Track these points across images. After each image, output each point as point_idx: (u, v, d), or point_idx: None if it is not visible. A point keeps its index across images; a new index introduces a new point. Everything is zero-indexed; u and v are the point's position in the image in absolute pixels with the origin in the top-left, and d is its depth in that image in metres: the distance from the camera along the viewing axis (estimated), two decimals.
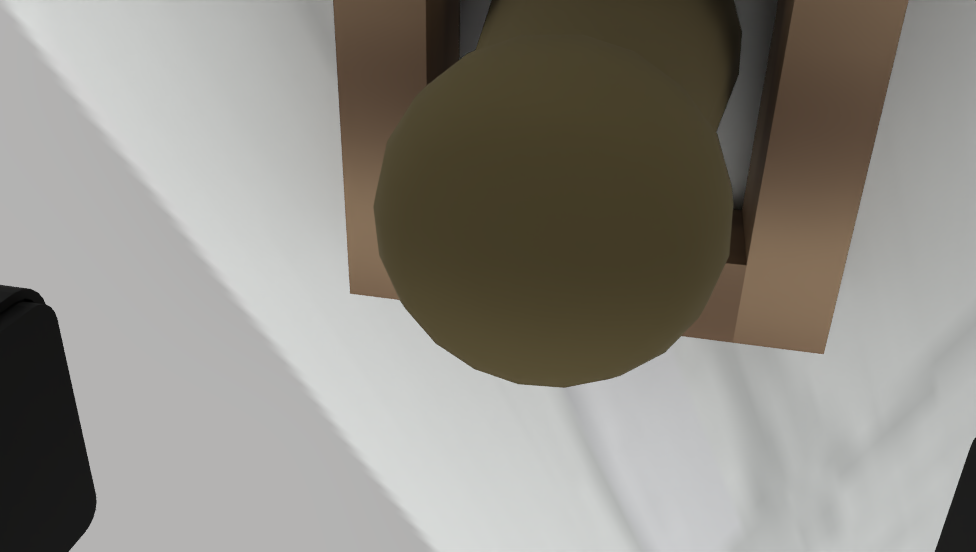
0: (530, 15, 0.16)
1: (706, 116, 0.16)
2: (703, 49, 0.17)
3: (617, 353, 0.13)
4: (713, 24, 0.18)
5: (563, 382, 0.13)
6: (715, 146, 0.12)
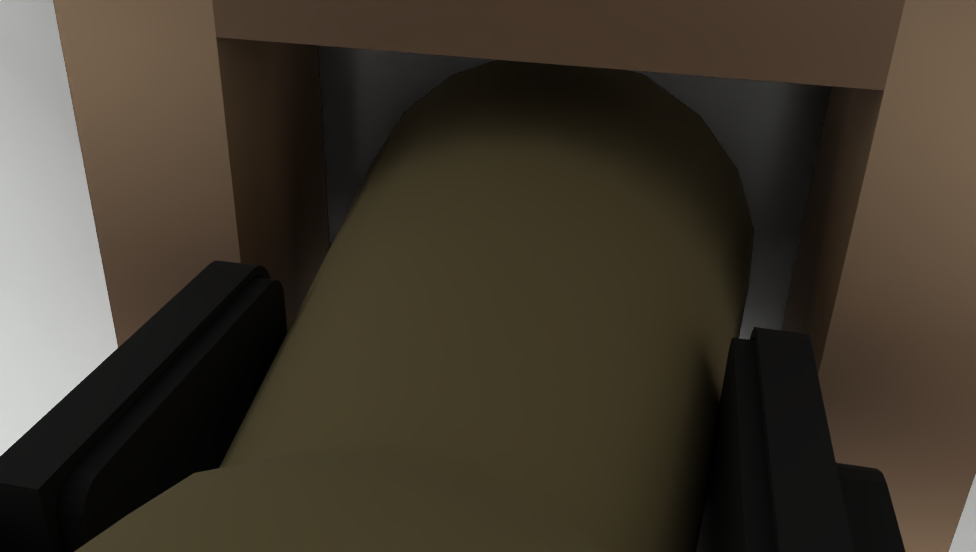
0: (363, 295, 0.08)
1: (696, 490, 0.08)
2: (691, 334, 0.09)
3: None
4: (709, 259, 0.10)
5: None
6: None
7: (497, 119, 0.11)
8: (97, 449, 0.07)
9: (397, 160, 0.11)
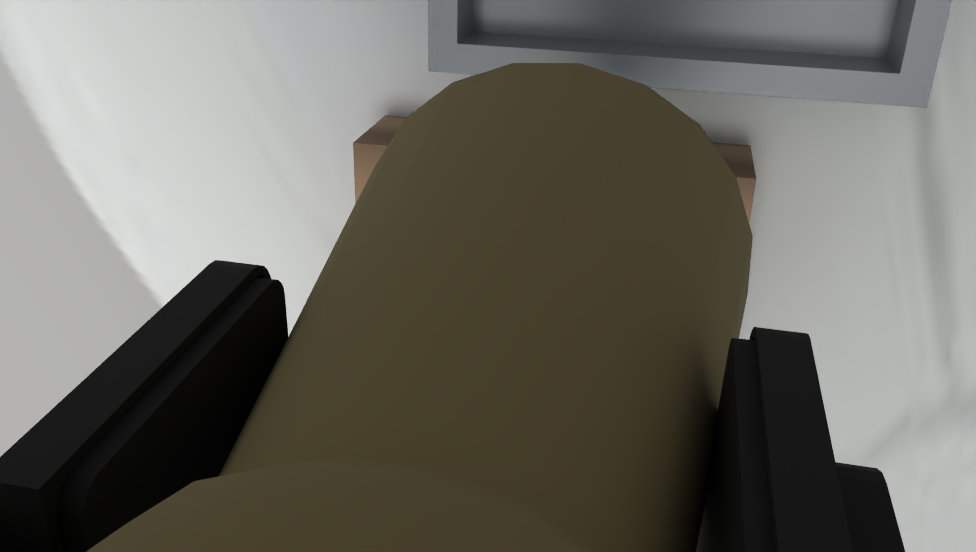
0: (363, 303, 0.08)
1: (694, 498, 0.08)
2: (690, 342, 0.09)
3: None
4: (708, 267, 0.11)
5: None
6: None
7: (497, 127, 0.11)
8: (97, 449, 0.07)
9: (397, 168, 0.11)
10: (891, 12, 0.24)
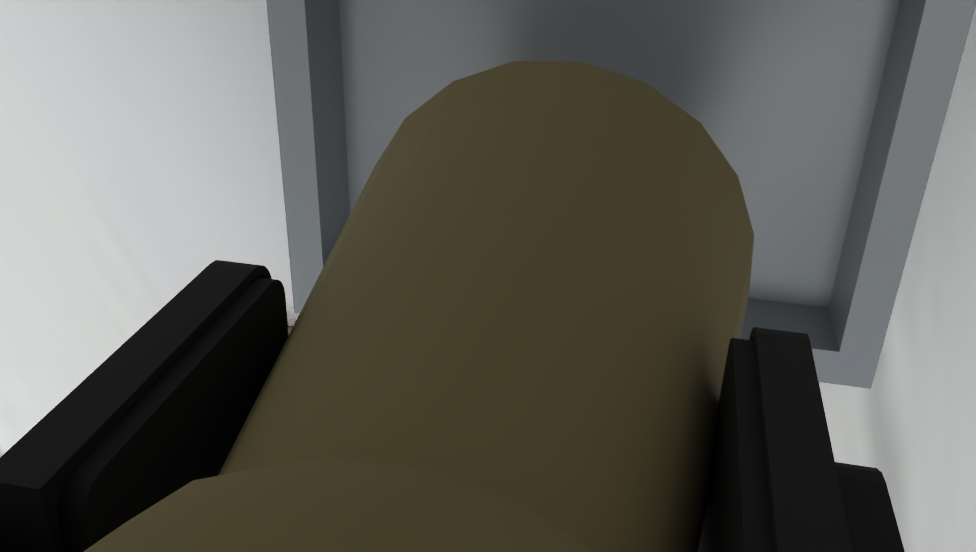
0: (363, 302, 0.08)
1: (696, 498, 0.08)
2: (691, 341, 0.09)
3: None
4: (709, 266, 0.10)
5: None
6: None
7: (498, 125, 0.11)
8: (98, 449, 0.07)
9: (397, 166, 0.11)
10: (834, 261, 0.20)
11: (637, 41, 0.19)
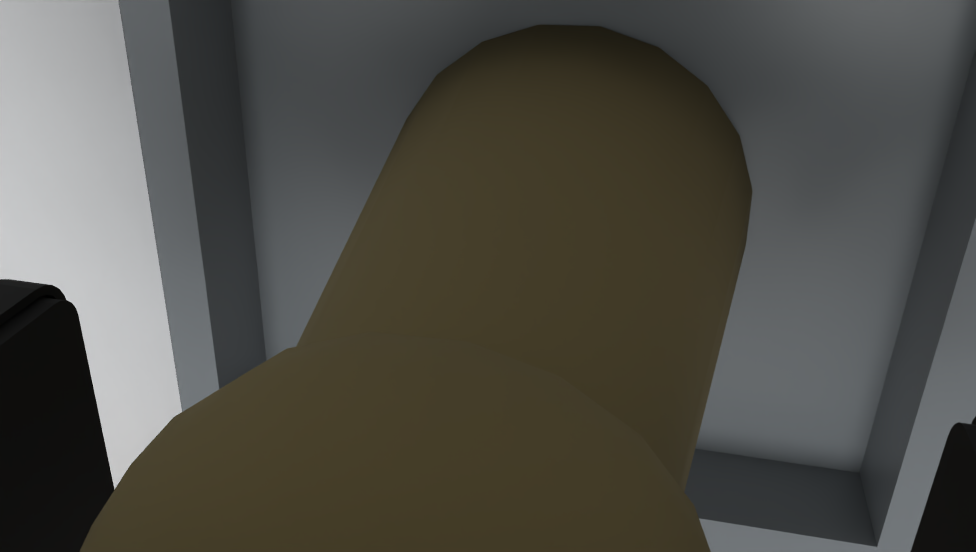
0: (414, 223, 0.10)
1: (696, 399, 0.10)
2: (695, 270, 0.10)
3: None
4: (712, 209, 0.12)
5: None
6: None
7: (526, 80, 0.12)
8: None
9: (434, 115, 0.13)
10: (867, 419, 0.16)
11: None
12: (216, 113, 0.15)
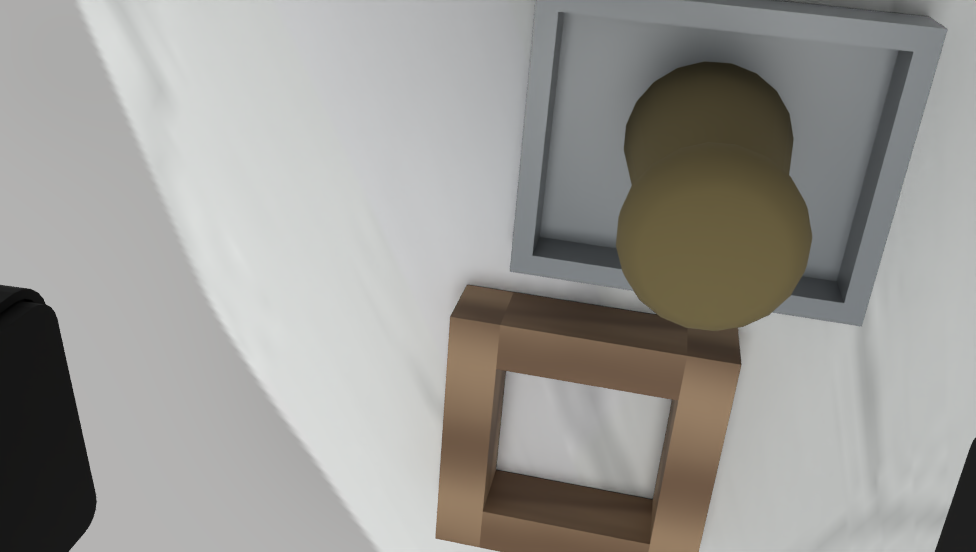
0: (689, 126, 0.28)
1: None
2: (782, 151, 0.28)
3: (749, 310, 0.24)
4: (784, 136, 0.30)
5: (715, 326, 0.25)
6: (806, 207, 0.24)
7: (710, 82, 0.30)
8: None
9: (670, 95, 0.31)
10: (841, 252, 0.34)
11: None
12: (552, 94, 0.33)
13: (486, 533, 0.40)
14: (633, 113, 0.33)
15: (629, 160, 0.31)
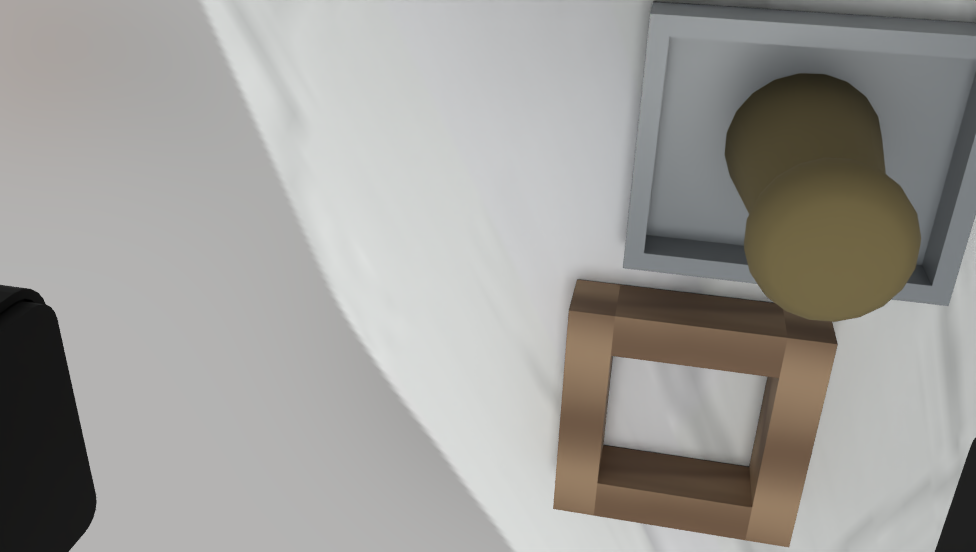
0: (799, 139, 0.31)
1: None
2: (881, 156, 0.32)
3: (868, 303, 0.28)
4: (879, 140, 0.33)
5: (837, 318, 0.28)
6: (916, 212, 0.27)
7: (809, 94, 0.34)
8: None
9: (772, 108, 0.34)
10: (926, 239, 0.37)
11: None
12: None
13: (600, 502, 0.44)
14: (734, 122, 0.36)
15: (736, 166, 0.35)
